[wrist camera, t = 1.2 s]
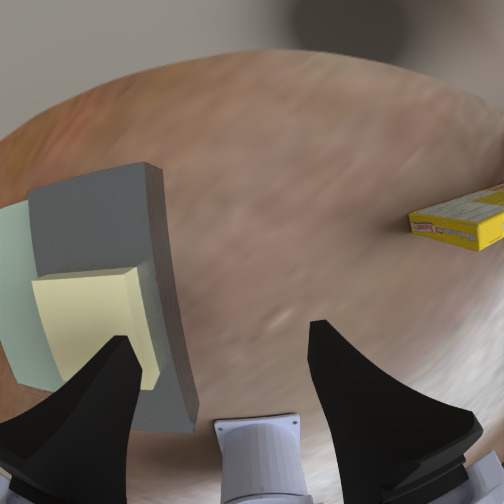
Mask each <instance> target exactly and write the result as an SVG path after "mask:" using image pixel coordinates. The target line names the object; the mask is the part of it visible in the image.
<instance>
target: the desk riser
mask: <svg viewBox="0 0 504 504" xmlns="http://www.w3.org/2000/svg"><path fill="white" fill-rule="evenodd" d="M28 206H29V219H30V230H31V238H32V246H33V253H34V259H35V265H36V270H37V276H38V278H40V277H42V276H45V275H47V274H57V273H70V272H82V271H93V270H105V269H117V268H129V267H137V273H138V279H139V284H140V290H141V295H142V300H143V305H144V310H145V315H146V320H147V324H148V329H149V333H150V337H151V341H152V345H153V349H154V353H155V357H156V361H157V365H158V368H159V372H160V375H159V377H158V379H157V381H156V384H155V386H154V388H153V390H141V389H140V393H139V397H138V401H137V405H136V409H135V413H134V417H133V420H132V425H131V429H134V430H143V431H154V432H167V433H191V434H194V430H195V425H196V420H197V414H198V409H199V400H198V396H197V392H196V388H195V384H194V380H193V375H192V371H191V366H190V362H189V357H188V353H187V348H186V343H185V338H184V333H183V328H182V322H181V317H180V311H179V305H178V299H177V293H176V287H175V281H174V274H173V267H172V260H171V252H170V244H169V236H168V227H167V217H166V207H165V195H164V183H163V170H162V169H160V168H157V167H155V166H153V165H151V164H149V163H146V162H140V163H134V164H129V165H124V166H120V167H115V168H110V169H106V170H102V171H97V172H93V173H89V174H85V175H81V176H78V177H74V178H70V179H67V180H63V181H60V182H56V183H53V184H49V185H46V186H43V187H40V188H37V189H34V190H31V191H28Z"/></svg>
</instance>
